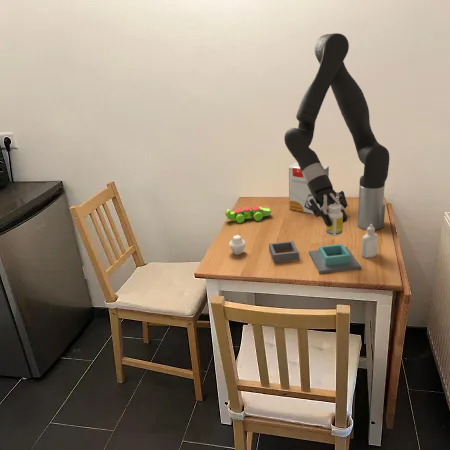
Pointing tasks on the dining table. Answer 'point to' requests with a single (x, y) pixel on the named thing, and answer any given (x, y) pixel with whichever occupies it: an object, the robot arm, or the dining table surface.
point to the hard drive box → (300, 189)
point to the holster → (283, 256)
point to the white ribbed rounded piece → (237, 244)
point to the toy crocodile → (248, 213)
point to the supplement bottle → (335, 220)
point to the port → (333, 259)
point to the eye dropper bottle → (370, 243)
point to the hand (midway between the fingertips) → (337, 223)
